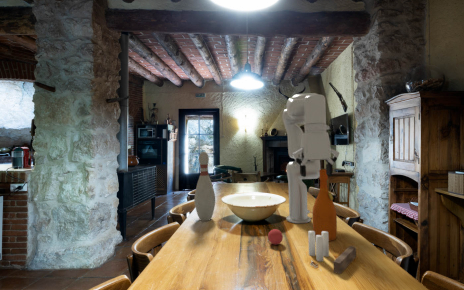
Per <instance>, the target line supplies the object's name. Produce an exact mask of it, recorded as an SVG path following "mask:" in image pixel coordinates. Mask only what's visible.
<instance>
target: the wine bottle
mask: <svg viewBox="0 0 464 290" xmlns="http://www.w3.org/2000/svg"><path fill="white" fill-rule="evenodd" d="M319 173H320V177H319V180H320V181H319V191H318V194H317V196H316V199H315V201H314V203H313V207H312V231H315V239H316V235H322V233H321V232H322V231H327V232H328V237H329V242H331V241H335V240H336V239H337V234H338V233H337V232H338V231H337V230H338V229H337V228H338V225H337V223H338V222H337V221H338V220H337V218H338V217H337V210H336V206H335V204H334V201H333V200H334V197H333V195H332V192H331V191H329V189H328V182H327V181H328V179H329V177H328V176H329V175H327V174H326V168H320V170H319Z"/></svg>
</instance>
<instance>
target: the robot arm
mask: <svg viewBox="0 0 464 290" xmlns="http://www.w3.org/2000/svg"><path fill="white" fill-rule="evenodd" d="M285 107H286V109H284V110H283V112H282V122H283V126H284V128H285V131H286V133H287V149H288V150H287V152H288V156H289V158H291V159H294V161H289V162H288V163H287V165H286V168H285V169H286V176H287V181H288V211H289V212H288V216H286V221H287V222H289V223H293V224H307V223H310V222H311V221H312V220H311V217H310V216H308V214H311V213H310V212H311V211H310V209H308V188H307V185H306V184H305V183H304V182H303V180H312V179H313V180H314V179H315V180H316V179H318V178H319V177H320V173H319V170H320V169H321V161H323V160H324V161H325V162H326V165H325V169H326V174H327V176H331V177H332V175H333V168H334V167H333V165H334V164H335V162H336V161H337V160H338V157H339V155H340V152H339V151H337V150H335V149H333V148H332V147H331V142H330V141H331V140H330V136H329V132H327V130H330V125H327V114H326V111H327V110H326V109H327V108H326V107H327V105H326V97H325V96H324V95H323V94H318V93H315V92H313V93H312V92H311V93H297V94H294V95H293V96H292V97H289V98H288V99H287V102H286V106H285ZM298 124H299V125H302V124H303V125H304V131H303V129H302V128H301V127H300V126H299V125H298ZM332 154H333V156H332ZM331 156H332V157H331Z"/></svg>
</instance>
